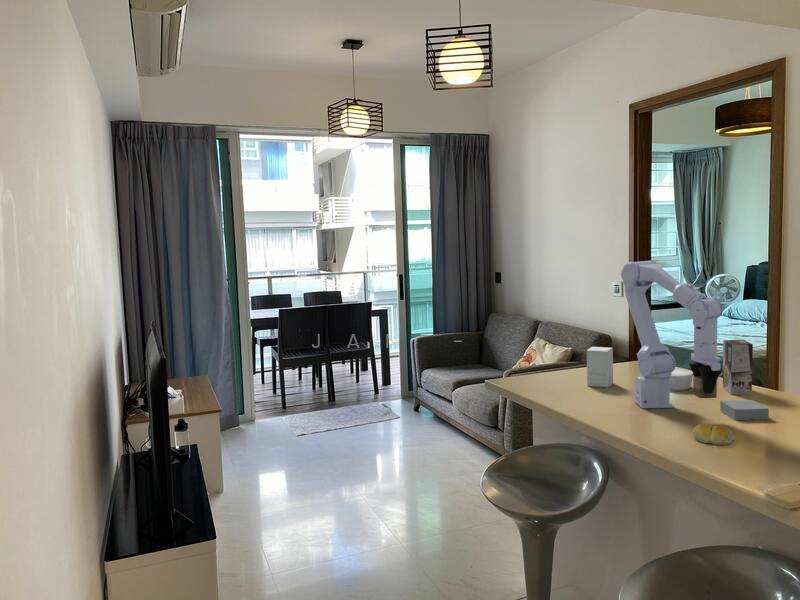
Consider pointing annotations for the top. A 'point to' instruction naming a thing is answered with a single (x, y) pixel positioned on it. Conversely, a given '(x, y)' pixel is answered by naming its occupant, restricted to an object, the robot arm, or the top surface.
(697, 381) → the walnut block
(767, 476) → the top surface
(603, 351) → the supplement box
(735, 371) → the coffee box
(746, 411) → the block
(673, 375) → the ramekin
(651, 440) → the top surface
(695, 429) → the bread roll
